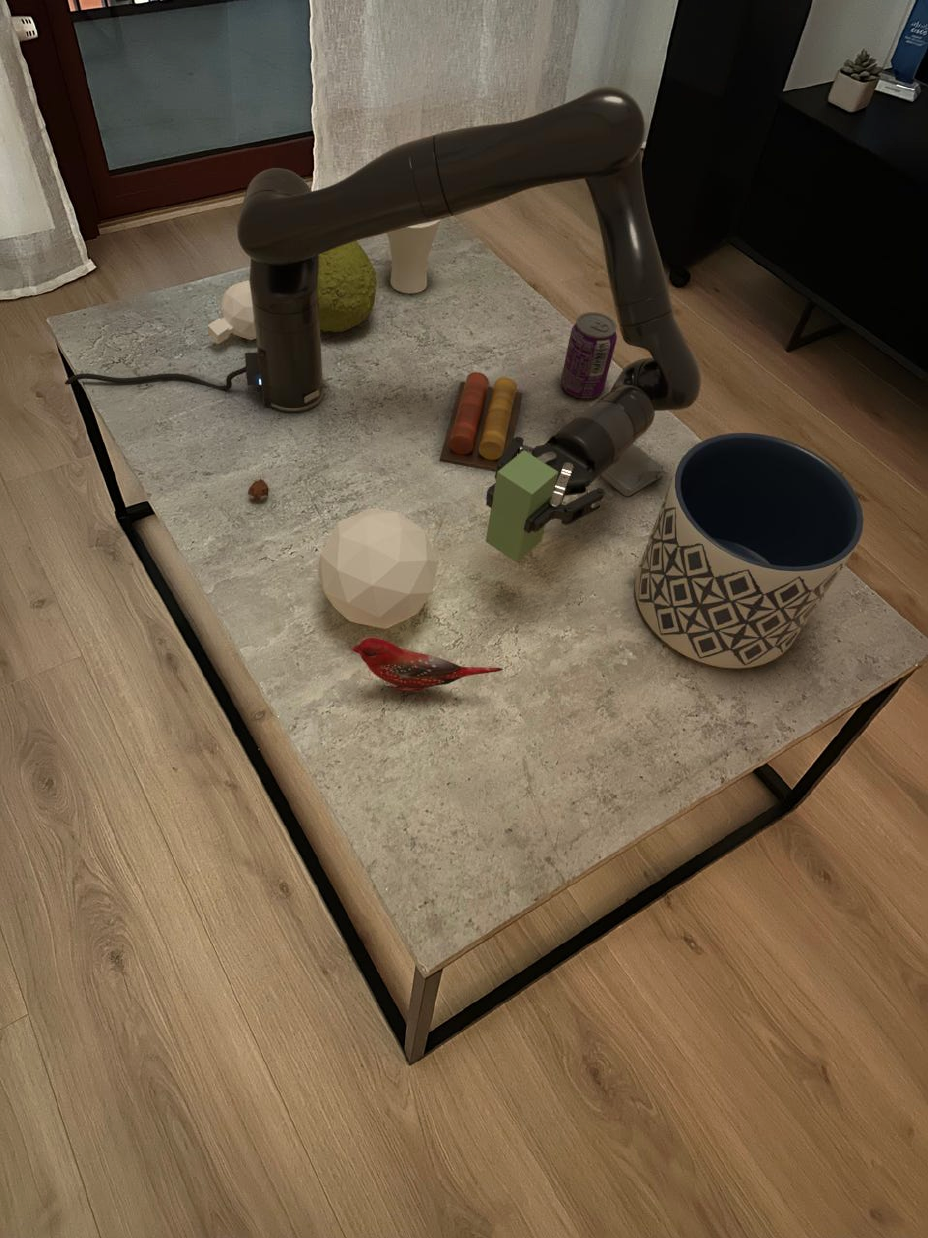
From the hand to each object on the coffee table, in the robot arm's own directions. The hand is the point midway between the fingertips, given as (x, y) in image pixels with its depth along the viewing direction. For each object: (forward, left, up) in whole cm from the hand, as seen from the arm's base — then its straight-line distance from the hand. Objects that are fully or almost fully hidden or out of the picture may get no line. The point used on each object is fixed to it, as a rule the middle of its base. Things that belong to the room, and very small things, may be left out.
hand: (508, 513), depth 104 cm
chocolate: (-29, +22, -17) cm, 40 cm away
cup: (-1, +72, -17) cm, 74 cm away
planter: (+30, -3, -17) cm, 35 cm away
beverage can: (+23, +42, -17) cm, 51 cm away
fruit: (-15, +63, -17) cm, 67 cm away
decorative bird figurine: (-11, -12, -17) cm, 24 cm away
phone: (+23, +26, -17) cm, 39 cm away
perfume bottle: (-30, +59, -17) cm, 68 cm away
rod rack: (+5, +34, -17) cm, 38 cm away
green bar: (+2, +2, -7) cm, 7 cm away
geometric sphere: (-15, +2, -17) cm, 23 cm away
